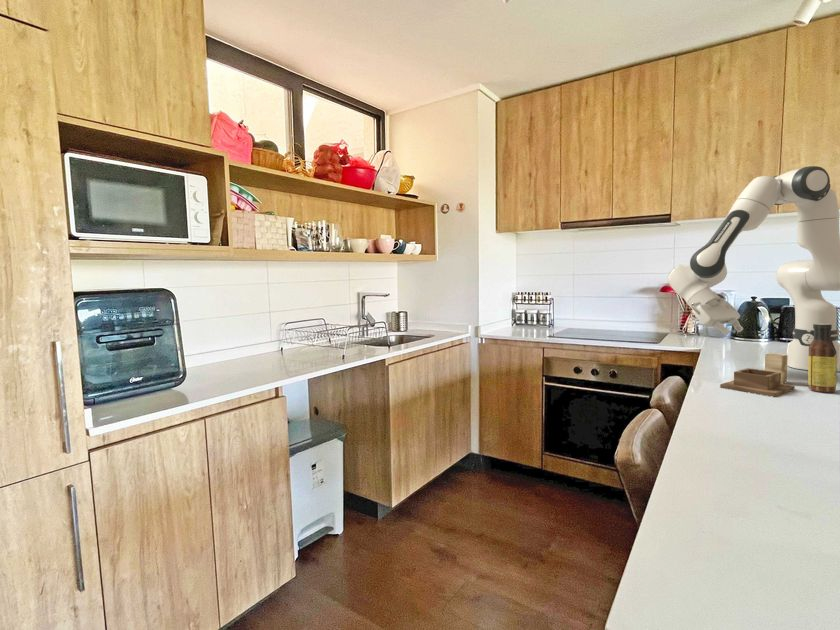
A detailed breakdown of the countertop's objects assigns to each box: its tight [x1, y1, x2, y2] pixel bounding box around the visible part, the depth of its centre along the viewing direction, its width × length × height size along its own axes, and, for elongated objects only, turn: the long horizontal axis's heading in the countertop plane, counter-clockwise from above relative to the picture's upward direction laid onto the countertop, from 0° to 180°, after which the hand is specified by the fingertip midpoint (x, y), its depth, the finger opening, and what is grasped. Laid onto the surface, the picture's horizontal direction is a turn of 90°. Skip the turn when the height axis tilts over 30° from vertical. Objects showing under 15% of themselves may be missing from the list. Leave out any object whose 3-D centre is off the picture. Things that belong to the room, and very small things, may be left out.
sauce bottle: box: [807, 323, 838, 394], centre depth 131 cm, size 7×6×20 cm
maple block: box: [764, 352, 788, 384], centre depth 143 cm, size 4×4×9 cm
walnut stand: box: [719, 367, 796, 398], centre depth 136 cm, size 14×14×5 cm
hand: (734, 331), depth 152 cm, fingers open, 8 cm apart
